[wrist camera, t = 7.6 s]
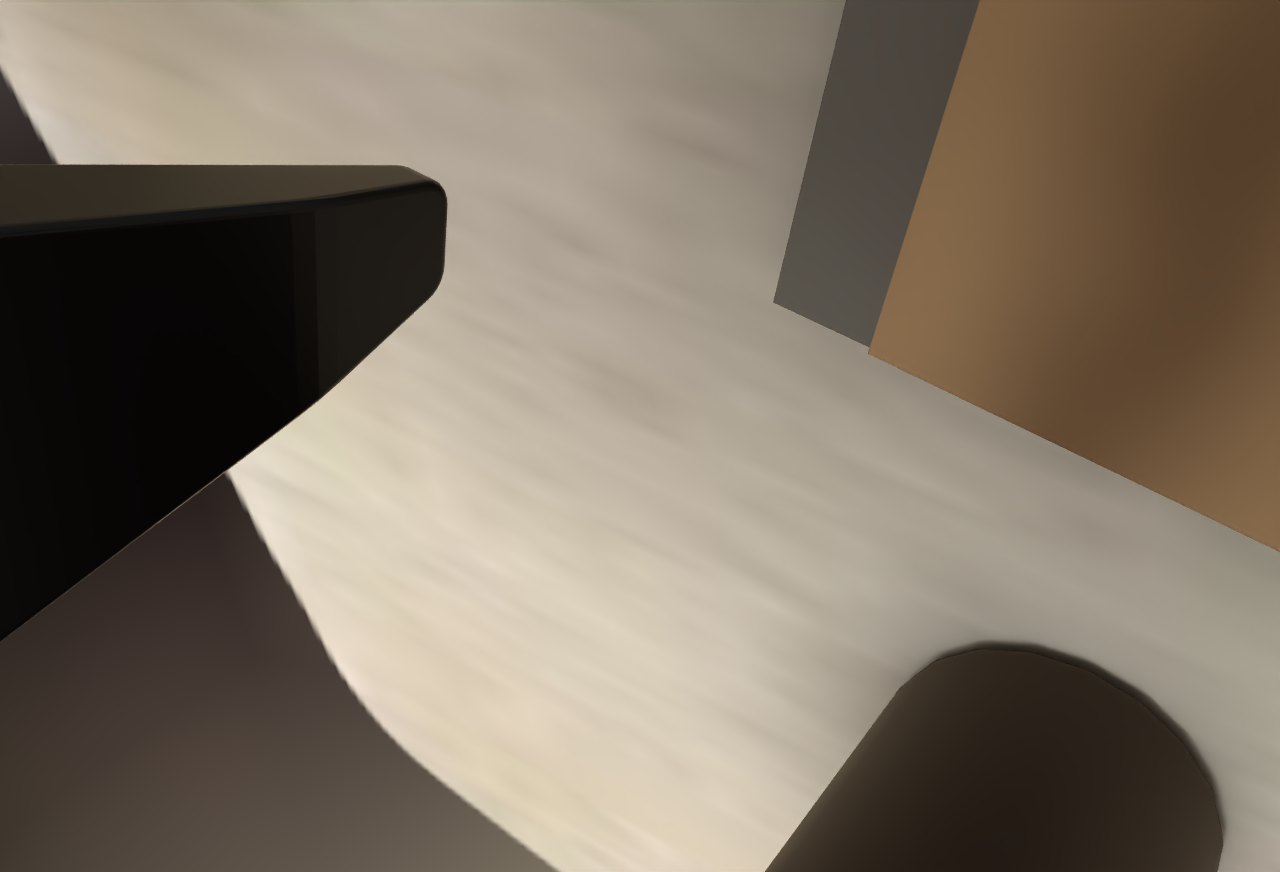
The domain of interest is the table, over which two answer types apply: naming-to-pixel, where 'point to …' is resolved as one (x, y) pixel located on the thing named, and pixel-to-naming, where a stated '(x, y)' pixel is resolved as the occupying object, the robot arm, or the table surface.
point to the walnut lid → (1110, 243)
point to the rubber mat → (870, 157)
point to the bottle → (1011, 780)
